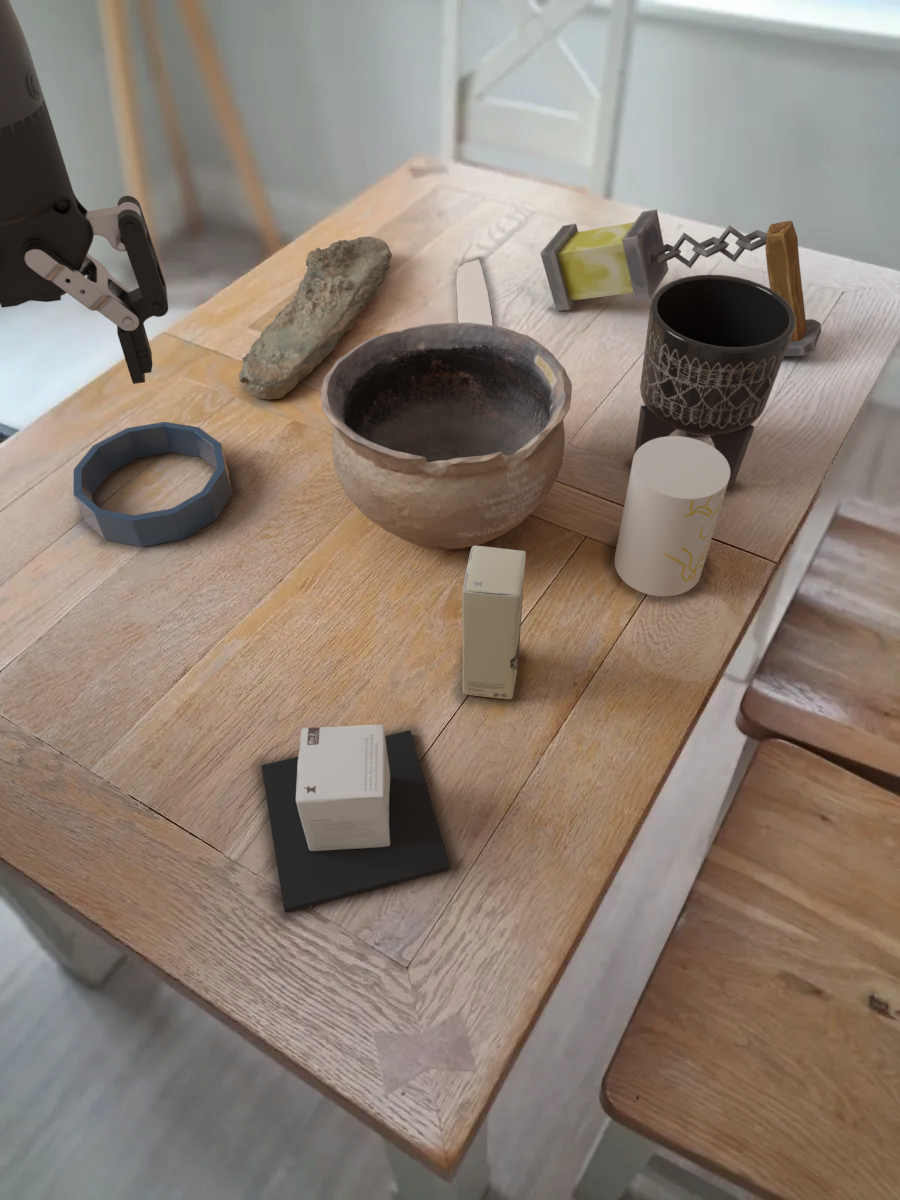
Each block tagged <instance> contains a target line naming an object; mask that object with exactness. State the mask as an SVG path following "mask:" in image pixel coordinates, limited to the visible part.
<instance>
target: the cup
mask: <svg viewBox="0 0 900 1200" xmlns="http://www.w3.org/2000/svg"><path fill="white" fill-rule="evenodd" d="M634 452H635V451H634ZM630 467H631V468H630V472H629V479H628V484H627V489H626V495H625V500H624V505H623V511H622V515H621V523H620V527H619V533H618V536H617V537H618V538H617V543H616V548H615V553H614V554H615V555H614V558H613V559H614V562H613V563H614V568H615V570H616V573H617V574H618V577H620V579H621V580H622V581H623V582H624V583H625V584H626V585H627V586H629V587H630V588H632V589H634V590H636V591H638V592H640V593H642V594H645V595H648V596H653V597H662V598H663V597H664V598H665V597H674V596H675V597H676V596H679V595H682V594H684V593H687V592H689V591H690V590H692V589H693V588H694V587H695V586H696V585H697V584H698V582H699V581H700V579H701V576H702V573H703V569H704V566H705V563H706V559H707V556H708V553H709V549H710V546H711V542H712V539H713V536H714V532H715V530H716V529H715V528H716V525H717V522H718V519H719V515H720V512H721V509H722V505H723V502H724V498H725V495H726V491H727V490H726V488H727V485H728V482H729V478H730V466H729V464H728V462H727V460H726V458H725V457H724V456H723V455H722V454H721V453H720V452H719V451H718V450H717V449H716V448H715V446H712V445H711V444H710V443H707V442H704V441H702V440H699V439H696V438H692V437H689V436H681V435H669V436H666V437H660V438H656V439H653V440H650V441H648V442H646V443H645V444H643V445H642V446H641V447H639V448H638V450H637V451H636V452H635V454H634V453H633V457H632V461H631V466H630Z"/></svg>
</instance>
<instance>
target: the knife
mask: <svg viewBox="0 0 900 1200" xmlns="http://www.w3.org/2000/svg"><path fill="white" fill-rule="evenodd" d="M488 291H489V290H488V287H487V283H486V280H485V276H484V271H483V267H482V265H481V261H480V259H474V260H471V261H468V262H464V263H463V264H462V265H460V266H459V267H458V268H457V271H456V301H457V320H458V322H457V323H476V324H483V325H492V326H494V324H493V317H492V309H491V304H490V303H491V302H490V297H489V292H488Z"/></svg>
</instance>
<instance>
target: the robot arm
mask: <svg viewBox="0 0 900 1200" xmlns="http://www.w3.org/2000/svg"><path fill="white" fill-rule="evenodd" d="M17 16H18V15H17V14H16V12H15V10H14V7H13V5H12V4H11V1H10V0H0V307H1V308H2V309H3V308H9V307H17V306H19V305H22V304H25V303H28V302H30V301H31V302H43V303H49V302H58V301H62V297H63V296H65V295H66V294H68V295H69V296H70V297H72V298H73V299H75V300H76V301H77V302H78V303H80V304H81V305H82V306H84V307H85V308H87V309H88V310H90V311H93V312H95V311H96V312H98V313H100V314H101V315H103V317H105V318H106V319H108V320H109V321H110V322H112V323H113V324H114V325H115V326H116V332H117V337H118V341H119V344H120V346H121V350H122V353H123V357H124V359H125V362H126V366H127V370H128V373H129V376H130V379H131V382H132V384H133V385H136V384H145V383H146V374H149V373H152V370H153V352H152V349H151V345H150V341H149V338H148V335H147V331H146V327H145V324H144V323H145V322H146V321H147V320H148V319H149V318H150V319H151V318H152V317H156V318H160V317H163V316H165V315H166V314H167V313H168V312H169V301H168V291H167V284H166V281H165V278H164V274H163V271H162V268H161V266H160V262H159V259H158V256H157V253H156V249H155V247H154V244H153V240H152V237H151V234H150V231H149V228H148V225H147V222H146V218H145V216H144V212H143V209H142V207H141V204H140V201H139V200H138V199H137V198H136V197H134V196H132V195H124V196H121V197H120V198H119V199H118V200H117V204H116V205H117V206H111V207H105V208H99V209H93V210H88V209H87V208H86V207H85V206H83V204H81V202H80V201H79V199H78V198H77V196H76V194H75V192H74V189H73V186H72V183H71V180H70V177H69V174H68V173H69V172H68V171H67V167H66V164H65V160H64V157H63V154H62V151H61V148H60V147H61V146H60V144H59V141H58V138H57V135H56V131H55V128H54V125H53V121H52V119H51V115H50V113H49V112H50V111H49V109H48V106H47V103H46V99H45V96H44V93H43V89H42V87H41V84H40V83H41V82H40V80H39V76H38V73H37V71H36V66H35V64H34V61H33V57H32V54H31V51H30V47H29V45H28V42H27V38H26V35H25V34H24V31H23V28H22V26H21V23H20V21H19V18H18V17H17ZM94 236H101V237H103V238H104V239H106V240H107V241H108V242H109V245H110V246H111V247H112V248H113V249H114V250H115V251H117V252H126V254H127V257H128V260H129V263H130V265H131V269H132V271H133V274H134V277H135V280H136V282H137V285H138V287H137V288H135V289H133V290H130V289H129V288H128V287H126V286H125V285H124V284H123V283H122V282H120V281H119V280H117V279H116V278H115V277H114V276H112V274H110V272H109V271H108V269H107V268H106V267H105V265H103V263H101V262H100V261H99V260H98V259H96V258H95V257H93V256H92V255H91V254H89V250H90V248H91V246H92V243H93V241H94Z"/></svg>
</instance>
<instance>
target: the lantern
mask: <svg viewBox="0 0 900 1200" xmlns="http://www.w3.org/2000/svg"><path fill="white" fill-rule="evenodd" d="M578 229H579V228H578V226H577V223H571V224H565V225H562V226H561V227H560V229H558V231H557V232H556V233H555V234H554V235H553V237H552V238H551V239H550V241H549V242H548V243H547V244H546V245H545V247H544V248H543V249H542V250H541V251H540V254H539V255H540V257H541V261H542V264H543V268H544V272H545V275H546V279H547V282H548V285H549V286H548V287H549V289H550V293H551V296H552V300H553V304H554V307H555V311H556V312H560V311H569V310H571V308H572V307H573V306H574V304H575V303H576V302H577V300H579V301H580V300H587V299H595V298H601V297H609V296H618V295H627V294H633V297H634V301H635V302H644V301H650V300H652V298H653V297H654V295H655V294H656V292H657V289H658V288H659V286H660V284H661V283H662V282H663V280H664V278H665V277H666V275H667V274H668V272H669V265H668V261H670V260H672V259H674V258H675V259H676V260H678V261H679V262H681V263H682V264H683V265H685V266H686V267H688V268H689V269H691V268H692V267H693V266H694V265H695V263H696V262H697V260H698V259H699V258H700V256H702V257H704V258H709V257H711V256H713V255H716V254H718V253H721V255H722V254H723V256H725V257H727V258H728V259H729V260H731V261H732V262H734V263H736V261H737V260H738V259H739V257H740V256H741V255H742V254H743V252H744V251H745V250H747V251H750V252H753V251H755V250H757V249H759V248H762V247H764V246H765V259H766V269H767V276H768V277H767V278H768V282H769V288H770V289H771V290H773V291H775V292H776V293H778V294H779V295H780V296H782V297H783V298H784V299H785V300H786V301H787V302H788V303H789V304H790V306H791V308H792V309H793V311H794V314H795V317H796V324H795V328H794V331H793V334H792V337H791V339H790V342H789V345H788V347H787V350H786V353H785V355H784V357H794V356H795V357H797V356H799V357H800V356H806V355H807V354H808V353H811V352H812V351H814V350H816V347H817V344H818V342H819V340H820V339H819V338H820V336H821V334H822V324H821V322H820V321H818V320H816V319H815V318H810V319H808V318H807V319H806V311H805V309H806V308H805V302H804V291H803V284H802V283H803V282H802V274H801V266H800V265H801V264H800V252H799V239H798V238H799V237H798V235H797V232H796V228H795V225H794V221H793V220H791V219H790V220H787V221H781V222H776V223H770V225H769V227H768V229H767V231H766V232H764V231H763V230H759V229H756V230H754V231H752V232H750V233H748V234H746V235H744V234H743V233H741V232H740V231H739V230H738V229H736V228H734V227H733V226H732V225H730V224H729V225H727V227H726V229H724V231H723V233H722V234H721V235H720V236H719V237H715V236H712V237H710V238H707V239H705V240H704V241H701V242H699V241H697V240H696V239H694V237H691V236H690V235H688V234H687V233H686V232H683V233H682V234H681V236H680V237H679V239H677V241H676V243H675V244H674V245H671V244H669V243H666V244H664V238H663V235H662V229H661V224H660V219H659V213H658V209H651V210H645V211H644V210H643V211H641V212H640V214H639V216H638V217H637V218H636V219H635V221H634V222H633V221H632V222H628V223H627V222H626V223H623V224H616V225H612V226H605V227H599V228H594V229H593V228H592V229H588V230H587V229H586V230H582V231H579V230H578ZM730 234H731V235H733V236H734V237H736V238H737V240H736V241H735V242H734V244H735V245H736V246H738V249H737V250H736V251H735V253H734V254H733V253H732V252H730V251H729V250H727V248H728V247H729V245H730V243H728V241H726V239H727V237H729V236H730ZM758 238H759V239H758ZM756 239H758V240H756ZM754 240H755V241H754ZM685 241H686V242H688V243H689V244H691V245H692V246H693V247H692V248H691V251H692V252H694V254H693V255H692V256H691V258H690V259H687V258H685V257H683V255H681V253H682V250H680V248H681V246H682V245H683V243H684V242H685ZM752 241H753V242H752ZM711 246H712V247H711Z"/></svg>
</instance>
